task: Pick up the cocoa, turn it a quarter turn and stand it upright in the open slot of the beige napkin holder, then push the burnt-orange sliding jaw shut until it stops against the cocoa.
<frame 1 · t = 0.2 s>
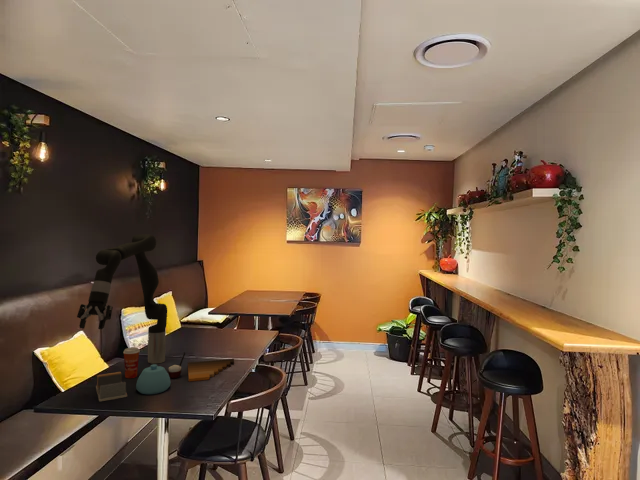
hand: (91, 328, 177), 31 cm above the table, tool tilted 20°, fingers open, 8 cm apart
beige napkin holder: (111, 392, 187), on the table
pan flute: (212, 373, 218), on the table
paper cup: (131, 376, 208), on the table
sliding jaw: (109, 379, 193), point 4 cm above the table, slide at 0.0 cm
teal dome lid: (153, 389, 191), on the table
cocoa: (175, 377, 208), on the table
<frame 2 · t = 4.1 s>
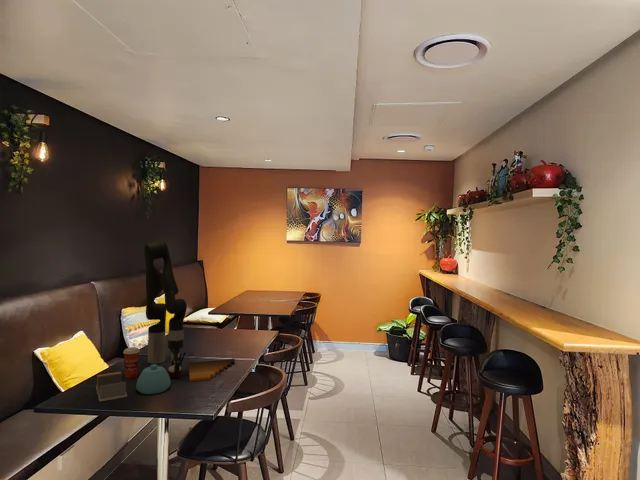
hand: (175, 370, 208), 3 cm above the table, tool pointing down, fingers closed on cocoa, 6 cm apart
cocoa: (175, 377, 208), on the table, touching gripper
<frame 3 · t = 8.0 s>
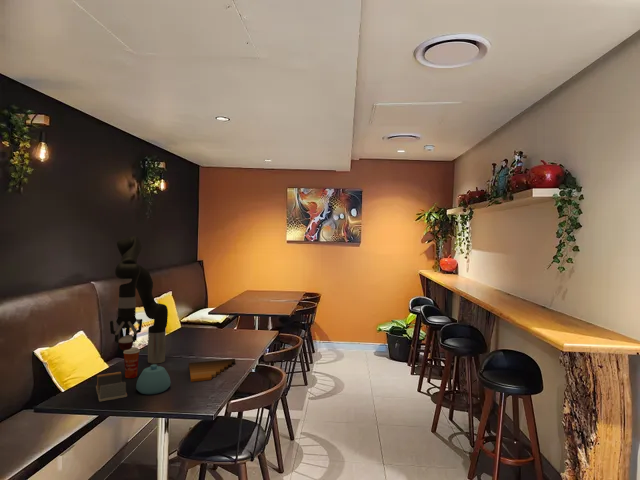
hand: (125, 342, 190), 22 cm above the table, tool pointing down, fingers closed on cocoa, 6 cm apart
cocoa: (126, 349, 190), point 19 cm above the table, touching gripper
when the fingers open (6 cm above the table, at t = 12.2 s): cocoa drops 1 cm, resting on beige napkin holder.
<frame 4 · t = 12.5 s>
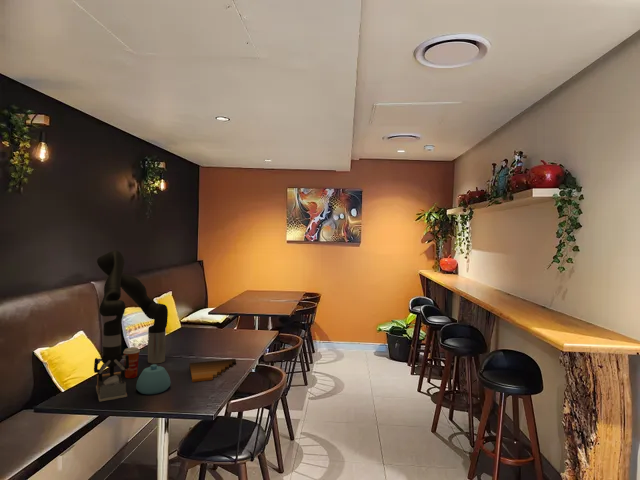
hand: (111, 379, 186), 6 cm above the table, tool pointing down, fingers open, 8 cm apart
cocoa: (111, 390, 186), point 1 cm above the table, touching beige napkin holder
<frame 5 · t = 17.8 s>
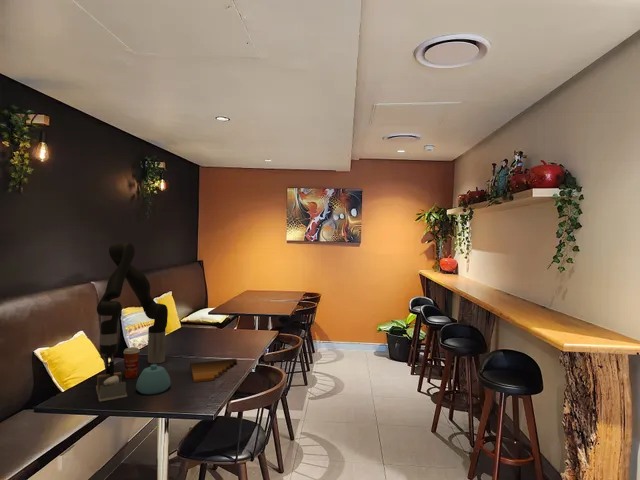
hand: (108, 378, 196), 3 cm above the table, tool pointing down, fingers closed
sliding jaw: (109, 379, 193), point 4 cm above the table, slide at 0.4 cm, touching gripper
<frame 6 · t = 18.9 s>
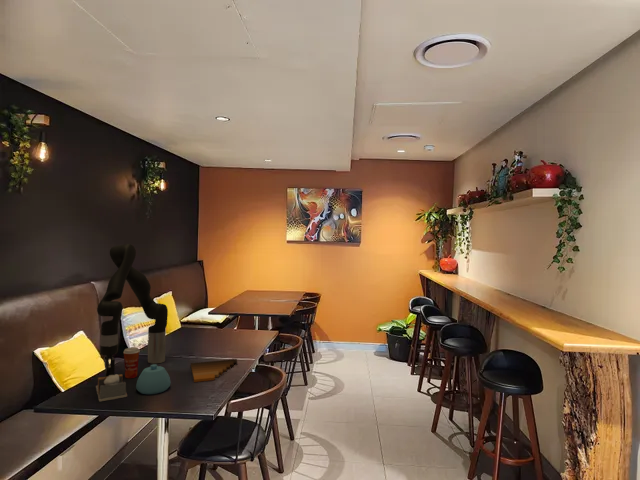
hand: (108, 379, 193), 4 cm above the table, tool pointing down, fingers closed
sliding jaw: (110, 381, 190), point 4 cm above the table, slide at 4.1 cm
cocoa: (111, 388, 186), point 2 cm above the table, touching hand, beige napkin holder
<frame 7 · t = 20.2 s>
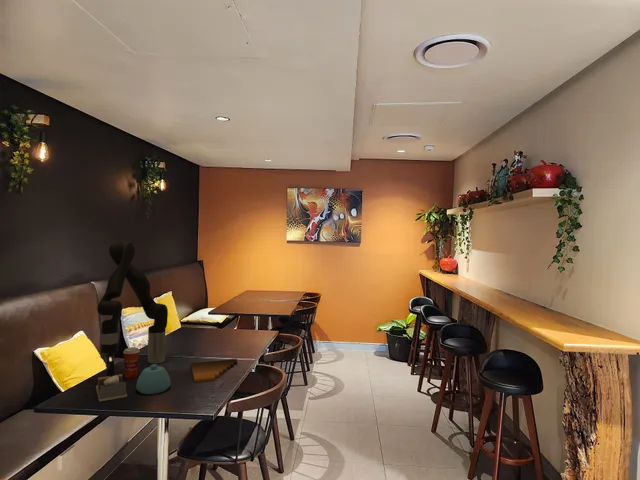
hand: (109, 377, 197), 3 cm above the table, tool pointing down, fingers closed
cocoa: (111, 390, 186), point 1 cm above the table, touching beige napkin holder
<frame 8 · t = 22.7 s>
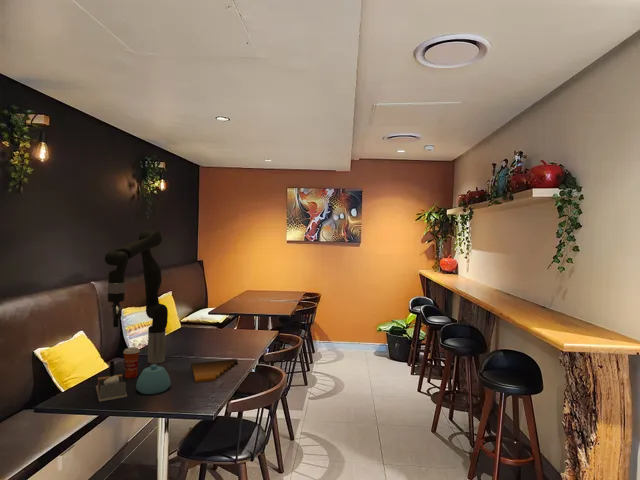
hand: (115, 326, 200), 27 cm above the table, tool pointing down, fingers closed
at the end: sliding jaw slide at 4.1 cm; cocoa 1.0 cm from the target spot on the beige napkin holder, point 0.8 cm above the beige napkin holder's base; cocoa tilted 0° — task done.
